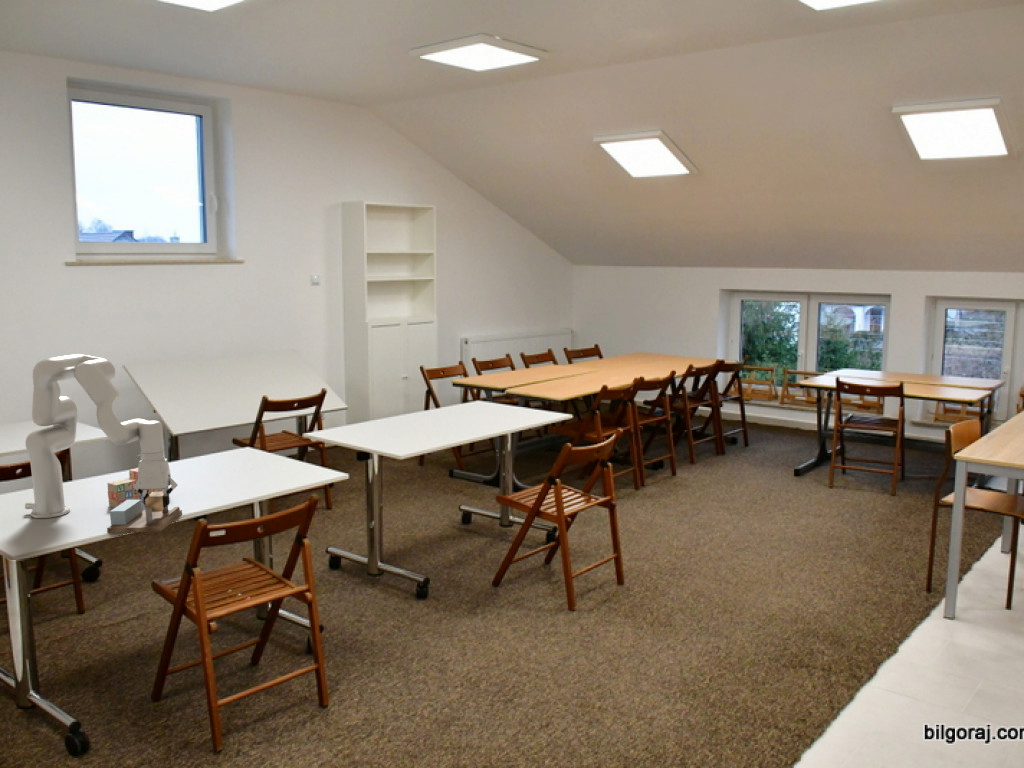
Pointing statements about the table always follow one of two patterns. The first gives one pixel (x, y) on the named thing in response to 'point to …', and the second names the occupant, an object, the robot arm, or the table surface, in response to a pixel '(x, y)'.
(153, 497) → the wooden block
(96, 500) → the table surface
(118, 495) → the stack of blocks
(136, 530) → the base
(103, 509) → the table surface
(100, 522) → the table surface
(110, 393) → the robot arm
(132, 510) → the light blue long block
